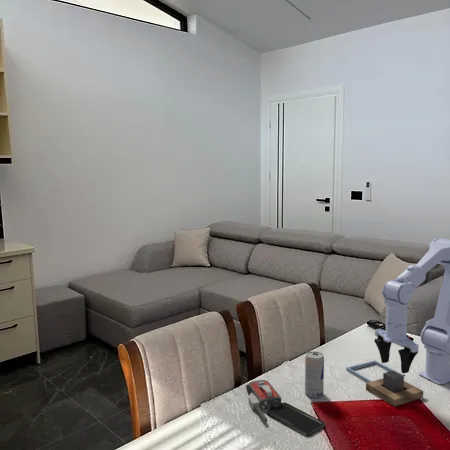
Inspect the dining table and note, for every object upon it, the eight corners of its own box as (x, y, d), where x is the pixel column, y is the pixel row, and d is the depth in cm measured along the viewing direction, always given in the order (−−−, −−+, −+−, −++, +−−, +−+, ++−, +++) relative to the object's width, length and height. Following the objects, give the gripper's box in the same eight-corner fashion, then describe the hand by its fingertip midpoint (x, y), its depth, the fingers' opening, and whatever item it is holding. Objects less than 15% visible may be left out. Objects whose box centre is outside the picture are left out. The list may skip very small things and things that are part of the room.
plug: (392, 389, 136) (393, 370, 135) (403, 395, 132) (403, 375, 131) (382, 392, 134) (383, 373, 133) (393, 398, 130) (393, 378, 130)
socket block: (393, 381, 140) (393, 375, 140) (423, 397, 130) (423, 391, 130) (365, 389, 136) (365, 383, 135) (394, 406, 126) (394, 399, 125)
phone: (283, 401, 128) (327, 423, 117) (283, 405, 128) (327, 427, 117) (264, 411, 123) (307, 435, 112) (264, 415, 123) (307, 439, 112)
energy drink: (325, 391, 135) (325, 352, 133) (321, 399, 130) (321, 359, 128) (307, 388, 137) (308, 350, 136) (302, 396, 132) (303, 356, 131)
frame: (374, 363, 154) (374, 360, 154) (403, 377, 143) (403, 374, 143) (346, 370, 149) (346, 367, 149) (373, 386, 138) (373, 383, 137)
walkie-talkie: (239, 391, 136) (262, 426, 117) (239, 377, 136) (262, 410, 117) (266, 387, 139) (293, 421, 119) (266, 373, 138) (293, 405, 119)
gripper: (367, 317, 135) (366, 360, 137) (406, 332, 122) (404, 380, 124) (385, 313, 138) (384, 356, 140) (424, 328, 125) (422, 374, 127)
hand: (394, 367), depth 132 cm, fingers open, 7 cm apart
